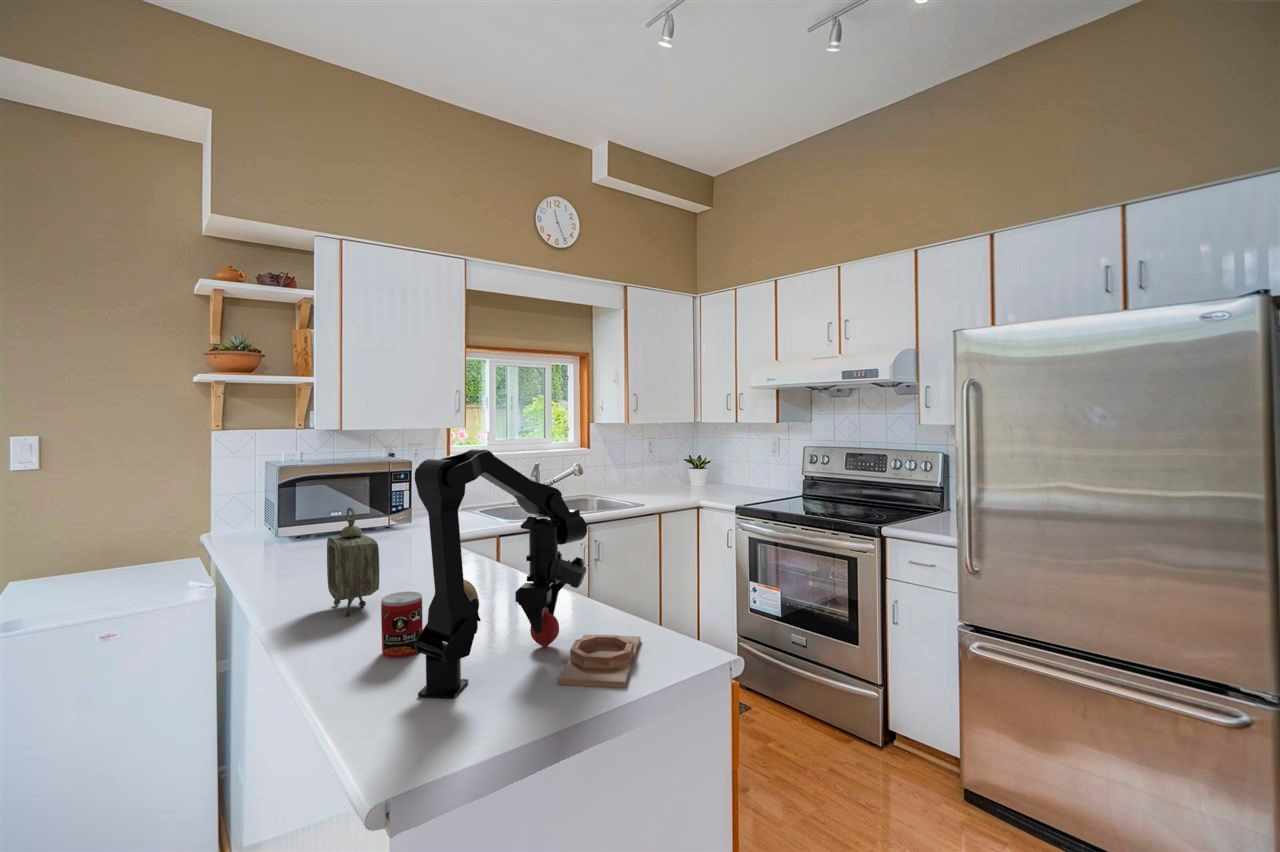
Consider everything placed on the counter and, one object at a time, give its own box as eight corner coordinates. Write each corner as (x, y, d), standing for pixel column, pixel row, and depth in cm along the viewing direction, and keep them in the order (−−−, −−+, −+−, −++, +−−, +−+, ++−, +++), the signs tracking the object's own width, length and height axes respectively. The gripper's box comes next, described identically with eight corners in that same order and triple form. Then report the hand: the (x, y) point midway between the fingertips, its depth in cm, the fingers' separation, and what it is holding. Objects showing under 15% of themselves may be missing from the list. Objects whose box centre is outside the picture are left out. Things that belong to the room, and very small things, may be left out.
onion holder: (625, 687, 106) (625, 670, 106) (557, 684, 108) (557, 667, 108) (640, 641, 128) (640, 627, 128) (583, 639, 130) (583, 625, 130)
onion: (553, 653, 122) (553, 613, 122) (526, 651, 123) (525, 611, 123) (563, 642, 128) (562, 604, 128) (536, 640, 129) (536, 602, 129)
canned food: (379, 661, 119) (378, 604, 119) (384, 646, 127) (383, 593, 127) (421, 656, 121) (420, 600, 121) (424, 642, 129) (423, 589, 129)
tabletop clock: (327, 605, 155) (325, 506, 155) (366, 598, 160) (364, 502, 160) (340, 620, 143) (338, 512, 143) (381, 612, 149) (379, 509, 149)
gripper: (571, 560, 115) (572, 643, 115) (591, 540, 133) (592, 611, 134) (514, 559, 116) (514, 641, 117) (541, 539, 135) (542, 610, 135)
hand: (544, 625), depth 125 cm, fingers open, 9 cm apart
